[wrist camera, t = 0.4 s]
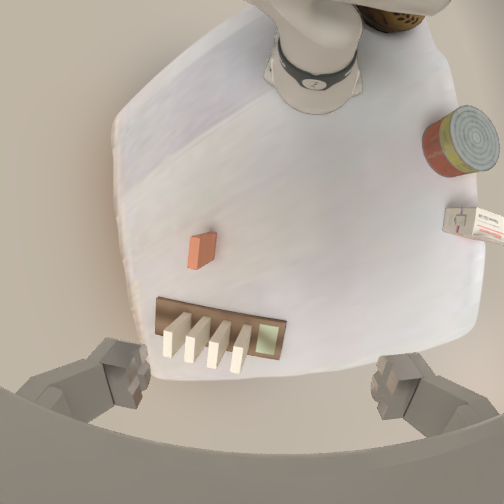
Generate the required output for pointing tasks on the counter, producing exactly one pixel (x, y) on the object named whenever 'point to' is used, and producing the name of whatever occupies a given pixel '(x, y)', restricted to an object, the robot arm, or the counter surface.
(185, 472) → the robot arm
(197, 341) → the ivory tile
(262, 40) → the counter surface
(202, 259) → the rust tile
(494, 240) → the ink cartridge box
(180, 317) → the ivory tile
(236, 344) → the ivory tile
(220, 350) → the ivory tile
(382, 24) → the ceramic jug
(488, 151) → the canned food
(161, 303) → the walnut board
